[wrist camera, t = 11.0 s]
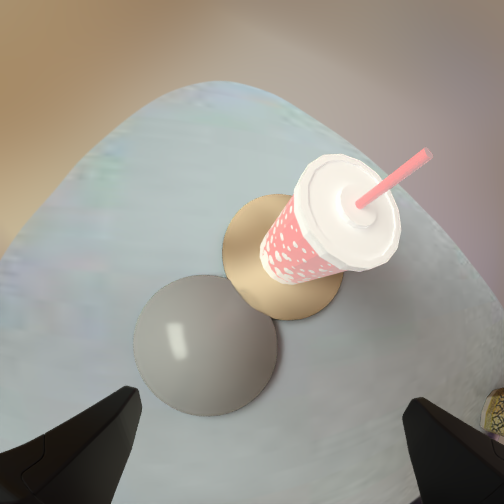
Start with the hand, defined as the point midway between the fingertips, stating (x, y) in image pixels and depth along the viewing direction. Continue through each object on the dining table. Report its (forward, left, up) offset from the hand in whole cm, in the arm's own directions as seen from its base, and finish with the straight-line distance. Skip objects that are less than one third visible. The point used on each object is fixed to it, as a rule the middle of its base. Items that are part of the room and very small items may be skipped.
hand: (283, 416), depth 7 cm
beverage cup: (+7, -6, -11) cm, 15 cm away
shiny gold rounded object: (+8, -6, -12) cm, 15 cm away
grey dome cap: (+2, +1, -12) cm, 12 cm away
